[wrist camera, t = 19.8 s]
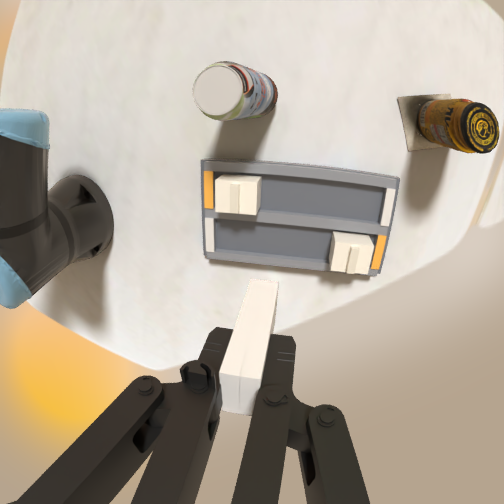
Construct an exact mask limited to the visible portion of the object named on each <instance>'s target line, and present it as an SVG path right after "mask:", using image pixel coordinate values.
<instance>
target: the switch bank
mask: <svg viewBox="0 0 504 504" xmlns="http://www.w3.org/2000/svg"><path fill="white" fill-rule="evenodd" d="M223 174H230V175H248V176H262V179H261V203H260V208H259V210H258V212H257V214H256V215H248V214H236V213H223V212H215V180H216V179H217V178H219V177H220V176H221V175H223ZM399 182H400V178H398V177H395V176H390V175H384V174H377V173H371V172H364V171H357V170H350V169H343V168H335V167H326V166H317V165H307V164H297V163H285V162H272V161H256V160H236V159H202V160H201V195H202V227H203V250H204V255H207V258H209V259H218V260H227V261H236V262H245V263H254V264H263V265H272V266H282V267H291V268H301V269H310V270H320V271H330V272H339V271H331V270H330V263H329V253H330V247H331V241H332V234H333V231H339V232H348V233H356V234H365V235H369V237H370V239H371V241H372V243H373V245H374V249H373V254H372V258H371V262H370V267H369V271H368V274H360V275H370V276H377V273H378V274H380V272H381V268H382V265H383V261H384V257H385V252H386V248H387V244H388V240H389V235H390V231H391V226H392V221H393V216H394V211H395V206H396V200H397V194H398V189H399ZM340 273H347V272H340ZM354 274H359V273H354Z"/></svg>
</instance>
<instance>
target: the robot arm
mask: <svg viewBox="0 0 504 504" xmlns="http://www.w3.org/2000/svg"><path fill="white" fill-rule="evenodd" d="M49 149H50V145H49V119H48V117H47V115H46V114H45V113H44V112H41V111H37V110H28V109H0V304H1V305H2V306H4V307H6V308H9V309H13V308H16V307H18V306H19V305H21V304H22V303H23V302H24V301H26V300H27V299H30V298H31V297H32V296H33V295H34V294H35V293H36V292H37V291H38V290H39V289H41V288H42V287H43V286H44V285H45V284H46V283H47V282H49V281H50V280H51V279H52V278H53V277H54V276H55V275H57V274H58V273H59V272H60V271H61V270H63V269H64V268H65V267H66V266H67V265H69V264H70V263H74V262H77V261H81V260H85V259H89V258H92V257H94V256H96V255H98V254H99V253H100V252H102V251H103V250H104V249H105V248H106V247H107V246H108V244H109V243H110V240H111V238H112V234H113V217H112V212H111V208H110V205H109V203H108V200H107V198H106V196H105V195H104V193H103V192H102V190H101V189H100V188H99V186H98V185H97V184H96V183H95V182H93V181H92V180H91V179H89V178H87V177H85V176H82V175H72V176H69V177H66V178H64V179H62V180H60V181H59V182H57V183H56V184H55V185H54V186H53V187H52V188H51V189H50V190H49V191H48V152H49ZM278 285H279V282H277V281H268V280H259V279H251V280H250V283H249V286H248V288H247V291H246V294H245V297H244V300H243V303H242V306H241V309H240V312H239V315H238V318H237V321H236V324H235V327H234V330H233V329H227V328H220V327H216V328H215V329H214V330H213V331H211V332H210V333H209V335H208V337H207V340H206V343H205V344H204V347H203V350H202V351H201V354H200V356H199V358H198V360H193V361H189V362H187V363H185V364H184V365H183V366H182V367H181V368H180V373H181V377H182V381H181V382H178V383H160V381H159V380H158V379H157V378H155V377H153V376H141V377H138V378H137V379H135V380H134V381H133V382H132V383H131V384H130V385H129V386H128V387H127V388H126V389H125V390H124V391H123V392H122V393H121V394H120V395H119V396H118V397H117V398H116V399H115V400H114V401H113V402H112V404H111V405H110V406H108V408H107V409H106V410H105V411H104V412H103V413H102V414H101V415H100V416H99V417H98V418H97V419H96V420H95V421H94V422H93V423H92V424H91V425H90V426H89V427H88V428H87V429H86V430H85V431H84V432H83V433H82V435H80V437H78V439H76V441H75V442H74V443H73V444H72V445H71V446H70V447H69V448H68V449H67V450H66V451H65V452H64V453H63V454H62V455H61V456H60V457H59V458H58V459H57V460H56V461H55V462H54V463H53V464H52V465H51V466H50V467H49V468H48V469H47V470H46V471H45V472H44V474H42V476H41V477H40V478H39V479H38V480H37V481H36V482H35V483H34V484H33V485H32V486H31V487H30V488H29V489H28V490H27V491H26V492H25V493H24V494H23V495H22V496H21V497H20V498H19V499H18V500H17V501H14V502H12V503H8V504H109V503H110V502H111V501H112V500H113V499H114V497H115V496H116V495H117V494H118V493H119V492H120V490H121V489H122V488H123V487H124V485H125V484H126V483H127V482H128V481H129V480H130V478H131V477H132V476H133V475H134V473H135V472H136V471H137V470H138V469H139V467H140V466H141V465H142V464H143V462H144V461H145V460H146V459H147V457H148V456H149V455H150V453H151V452H152V451H153V453H152V455H151V457H150V459H149V462H148V464H147V467H146V469H145V471H144V474H143V476H142V478H141V481H140V483H139V485H138V488H137V490H136V493H135V495H134V497H133V500H132V502H131V504H194V503H195V500H196V497H197V494H198V491H199V488H200V484H201V481H202V478H203V474H204V471H205V468H206V465H207V461H208V458H209V455H210V452H211V448H212V445H213V441H214V439H215V435H216V432H217V429H218V425H219V419H220V417H219V414H220V411H221V407H222V411H225V412H231V413H236V414H243V415H249V416H252V418H251V423H250V428H249V432H248V436H247V441H246V445H245V449H244V453H243V458H242V462H241V466H240V470H239V474H238V478H237V483H236V486H235V491H234V494H233V498H232V502H231V504H278V499H279V493H280V487H281V480H282V474H283V467H284V460H285V453H286V446H288V447H290V448H293V449H295V450H298V456H299V461H300V467H301V472H302V478H303V483H304V488H305V494H306V500H307V504H370V501H369V498H368V494H367V491H366V487H365V484H364V481H363V477H362V474H361V470H360V467H359V463H358V460H357V457H356V453H355V450H354V447H353V443H352V440H351V437H350V434H349V431H348V428H347V424H346V421H345V418H344V415H343V414H342V412H341V411H340V410H339V409H338V408H337V407H335V406H332V405H319V406H316V407H315V408H314V407H311V406H309V405H306V404H304V403H301V402H300V401H299V400H298V399H296V397H295V396H294V394H293V391H292V384H293V374H294V362H295V351H296V344H295V341H294V339H293V337H292V336H284V335H276V334H273V330H274V324H275V316H276V306H277V296H278Z"/></svg>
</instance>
